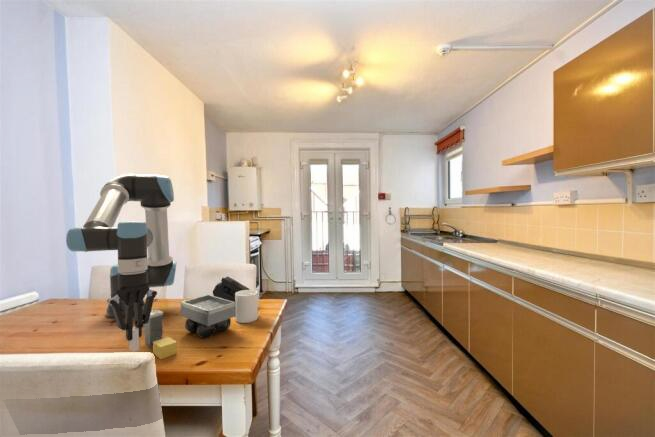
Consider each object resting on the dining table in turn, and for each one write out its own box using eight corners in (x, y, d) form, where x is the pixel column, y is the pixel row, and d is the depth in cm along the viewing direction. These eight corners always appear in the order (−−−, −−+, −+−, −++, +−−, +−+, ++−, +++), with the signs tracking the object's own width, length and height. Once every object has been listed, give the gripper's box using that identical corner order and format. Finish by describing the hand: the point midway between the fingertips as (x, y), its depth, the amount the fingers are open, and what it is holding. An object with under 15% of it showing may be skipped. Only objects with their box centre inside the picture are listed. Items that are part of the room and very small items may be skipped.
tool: (209, 299, 145) (224, 273, 145) (243, 317, 146) (258, 291, 146) (205, 303, 138) (221, 276, 139) (240, 321, 140) (256, 295, 140)
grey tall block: (144, 343, 103) (143, 312, 102) (157, 339, 106) (156, 309, 106) (150, 346, 100) (149, 315, 100) (163, 342, 104) (162, 311, 103)
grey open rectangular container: (179, 331, 113) (179, 302, 113) (209, 321, 124) (209, 294, 123) (206, 343, 103) (206, 311, 102) (236, 330, 113) (236, 301, 113)
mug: (231, 322, 122) (230, 295, 122) (244, 312, 134) (244, 287, 133) (251, 324, 120) (251, 296, 120) (263, 314, 132) (263, 288, 132)
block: (153, 353, 96) (153, 341, 96) (169, 348, 100) (169, 336, 99) (160, 359, 92) (160, 347, 92) (176, 353, 96) (176, 341, 96)
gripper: (112, 277, 80) (113, 361, 80) (161, 269, 91) (162, 344, 91) (102, 274, 84) (103, 354, 85) (150, 267, 95) (151, 338, 95)
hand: (134, 349), depth 88 cm, fingers closed
